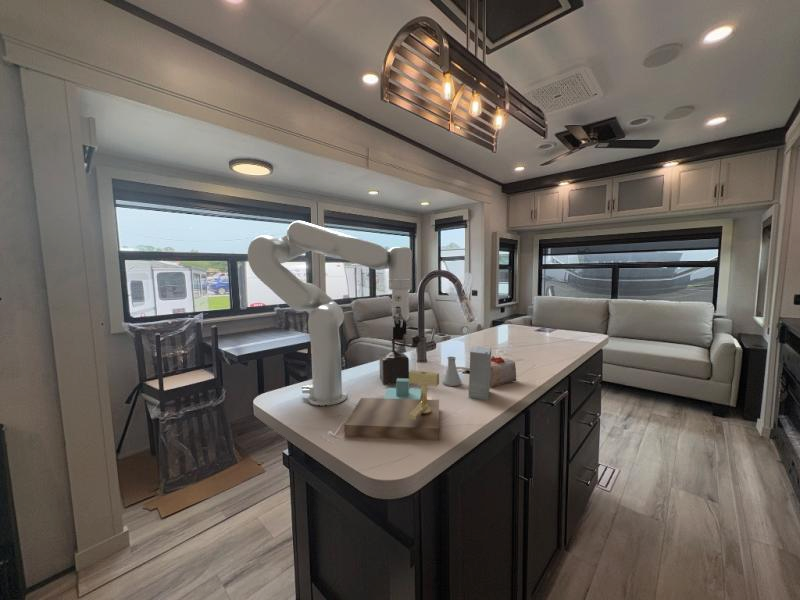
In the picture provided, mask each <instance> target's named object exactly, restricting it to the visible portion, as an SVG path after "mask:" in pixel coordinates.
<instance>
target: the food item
mask: <svg viewBox="0 0 800 600" xmlns="http://www.w3.org/2000/svg"><path fill="white" fill-rule="evenodd" d="M513 381H515V382H517V368H516V362H515V361H514V360H512V359H510V358H502V357H501V356H499V357H495V356H494V355H491V371H490V388H494V386H495V387H497V386H500V385H501V384H502V385H506V384H510V383H512V382H513ZM509 382H510V383H509ZM505 383H506V384H505ZM513 383H514V382H513ZM502 385H501V386H502Z"/></svg>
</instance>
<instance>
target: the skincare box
mask: <svg viewBox="0 0 800 600" xmlns="http://www.w3.org/2000/svg"><path fill="white" fill-rule="evenodd" d="M491 358H492V347H487V346H479V345H478V346H477V345H473V346H472V348H471V350H470V352H469V380H468V381H469V382H468V384H469V385H468V398H473V399H479V400H489V396H490V388H491V387H490V371H491Z"/></svg>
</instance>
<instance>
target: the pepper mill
mask: <svg viewBox="0 0 800 600" xmlns="http://www.w3.org/2000/svg"><path fill="white" fill-rule="evenodd" d="M421 341H422V337H421V336H420V335H417V334H414V335H412V336H411V342H412V343H411V344H407V343H400V342H399V343H398V342H396V340H393V337H392V338H391V344H392V346H391V347H392V350H391V351H389V352H386V353H384V354H383V353H381V354H379V378H381V379H380V380H381V383H382V384H383V385H396V380H397V378H404V379H409V372H410V365H409V364H410V362H409V361H410V359H409V357H408V356H407V355H406V354H405V353H404V352H399V351H396V350H395V345H396V346H401V347H407V348H411V349H412V348H413V349H416V348H418V347H419V343H420V342H421Z"/></svg>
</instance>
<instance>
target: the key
mask: <svg viewBox="0 0 800 600" xmlns="http://www.w3.org/2000/svg"><path fill="white" fill-rule="evenodd" d="M409 384H414V385H420V389H421V402H420V403H419V404H418V405H417V406H416V407H415V408H414V409H413V411H412V412H411V413H410V414H409V415H408V419H413V420H416V419H417V418H418V417H419V416H420V415H421V414H429V413H431V412H432V408H431V407H430V406H428V403H427V400H428V386H430V387H439V385H440V373H438V372H429V371H421V370H413V369H412V370H409Z"/></svg>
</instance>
